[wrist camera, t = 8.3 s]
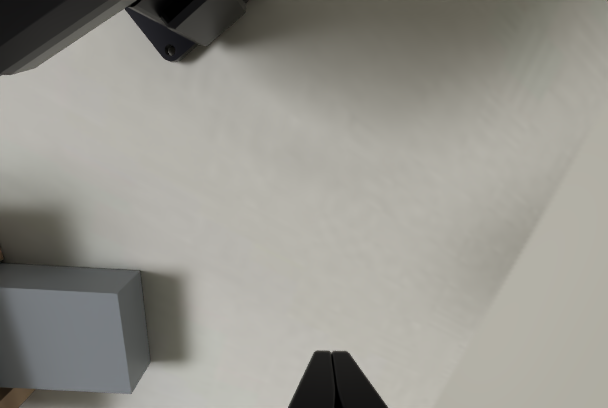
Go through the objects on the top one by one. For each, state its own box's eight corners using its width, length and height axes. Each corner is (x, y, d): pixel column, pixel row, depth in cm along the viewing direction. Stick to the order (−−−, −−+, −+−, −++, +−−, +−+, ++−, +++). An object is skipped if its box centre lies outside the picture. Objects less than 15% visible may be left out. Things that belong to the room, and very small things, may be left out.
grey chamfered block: (140, 270, 20) (117, 293, 18) (150, 362, 22) (131, 393, 20) (-122, 256, 20) (-181, 278, 17) (-86, 349, 22) (-134, 380, 20)
